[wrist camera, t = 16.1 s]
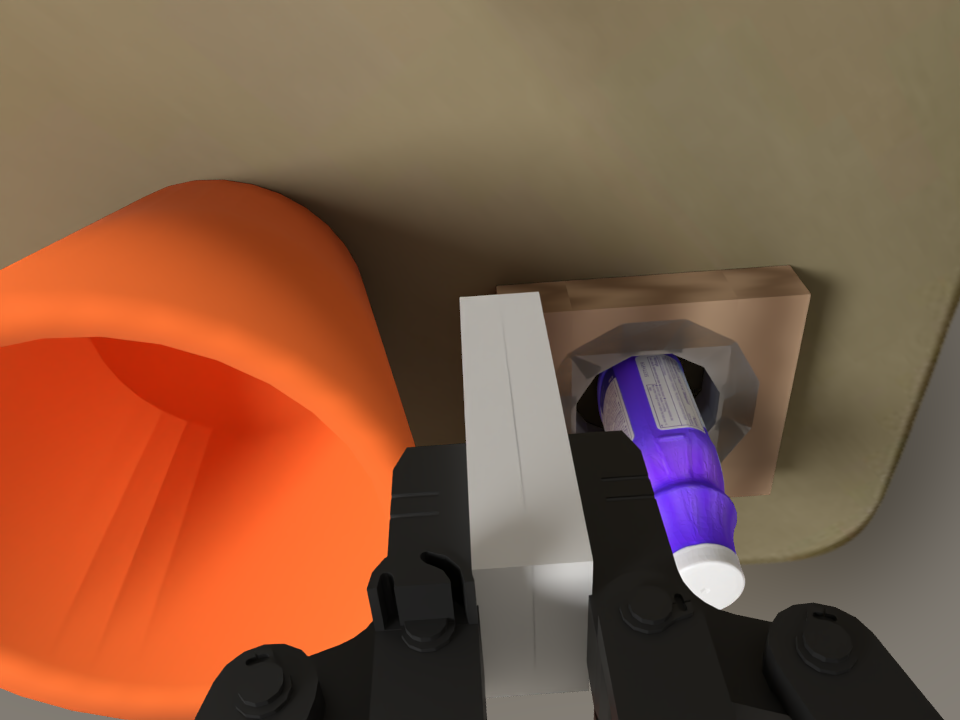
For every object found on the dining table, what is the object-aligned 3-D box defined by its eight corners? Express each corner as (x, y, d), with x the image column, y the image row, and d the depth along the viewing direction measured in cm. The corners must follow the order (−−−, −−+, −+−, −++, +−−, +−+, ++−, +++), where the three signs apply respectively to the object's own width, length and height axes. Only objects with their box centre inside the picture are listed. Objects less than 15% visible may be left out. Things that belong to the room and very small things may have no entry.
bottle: (677, 417, 57) (758, 628, 43) (595, 426, 57) (648, 640, 43) (679, 329, 53) (770, 531, 38) (591, 340, 53) (649, 545, 39)
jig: (506, 477, 59) (509, 513, 56) (496, 285, 50) (499, 316, 47) (754, 460, 59) (770, 494, 57) (789, 265, 50) (810, 294, 47)
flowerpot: (347, 500, 60) (314, 764, 44) (-18, 380, 53) (-219, 645, 36) (512, 219, 48) (551, 442, 32) (67, 10, 40) (-181, 162, 24)
